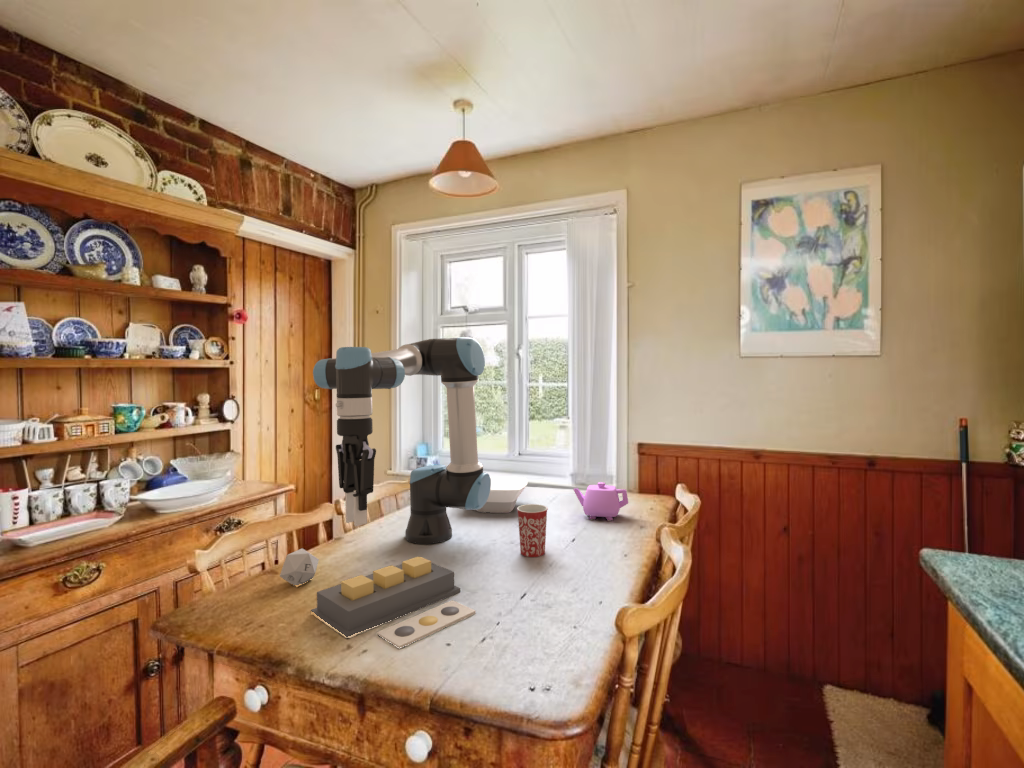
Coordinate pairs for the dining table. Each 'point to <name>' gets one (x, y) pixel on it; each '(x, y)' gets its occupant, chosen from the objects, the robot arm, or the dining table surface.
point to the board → (384, 601)
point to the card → (426, 623)
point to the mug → (532, 529)
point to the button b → (388, 576)
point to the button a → (357, 587)
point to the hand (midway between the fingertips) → (356, 522)
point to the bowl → (503, 494)
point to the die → (299, 567)
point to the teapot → (602, 500)
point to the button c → (416, 567)
